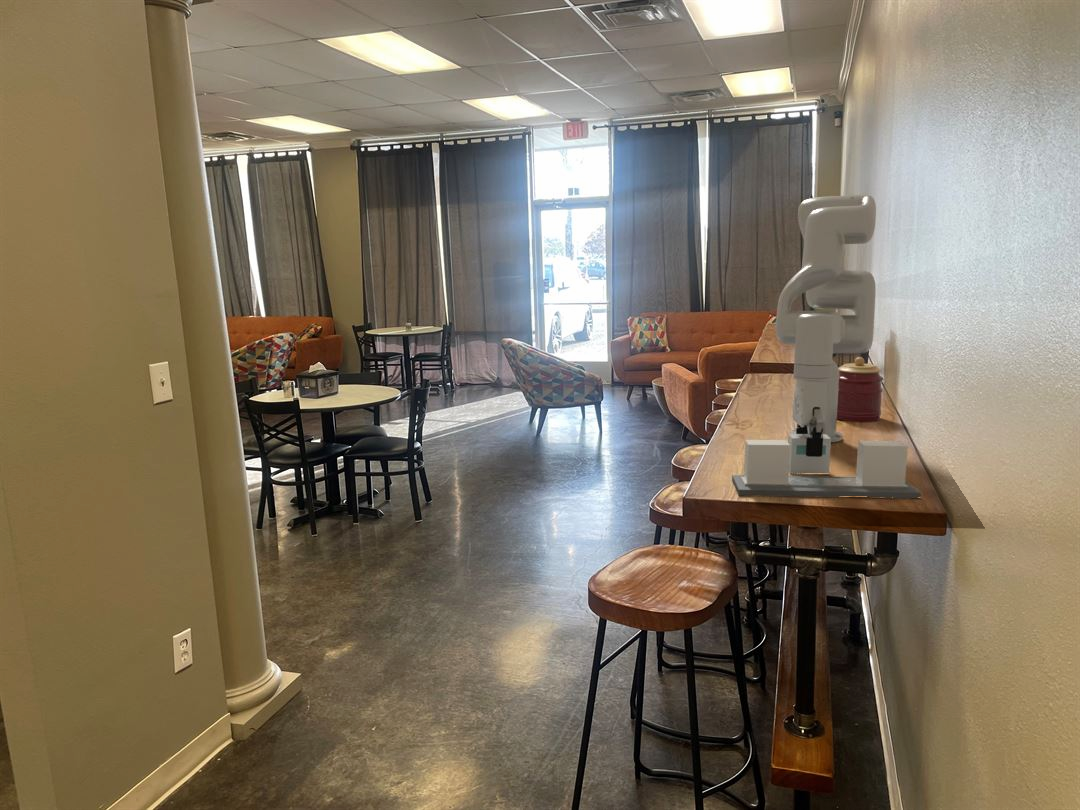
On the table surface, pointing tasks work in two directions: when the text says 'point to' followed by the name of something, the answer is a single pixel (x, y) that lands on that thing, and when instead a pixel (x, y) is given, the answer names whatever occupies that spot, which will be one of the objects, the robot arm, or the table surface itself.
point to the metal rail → (823, 483)
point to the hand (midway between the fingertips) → (808, 450)
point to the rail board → (822, 490)
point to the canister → (859, 392)
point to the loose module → (803, 462)
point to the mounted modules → (873, 468)
